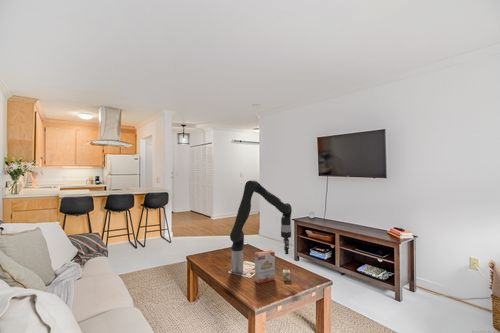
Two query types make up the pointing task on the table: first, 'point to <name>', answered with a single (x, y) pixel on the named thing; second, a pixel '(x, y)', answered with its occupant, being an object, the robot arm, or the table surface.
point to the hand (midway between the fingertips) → (286, 252)
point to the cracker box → (264, 266)
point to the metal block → (286, 275)
